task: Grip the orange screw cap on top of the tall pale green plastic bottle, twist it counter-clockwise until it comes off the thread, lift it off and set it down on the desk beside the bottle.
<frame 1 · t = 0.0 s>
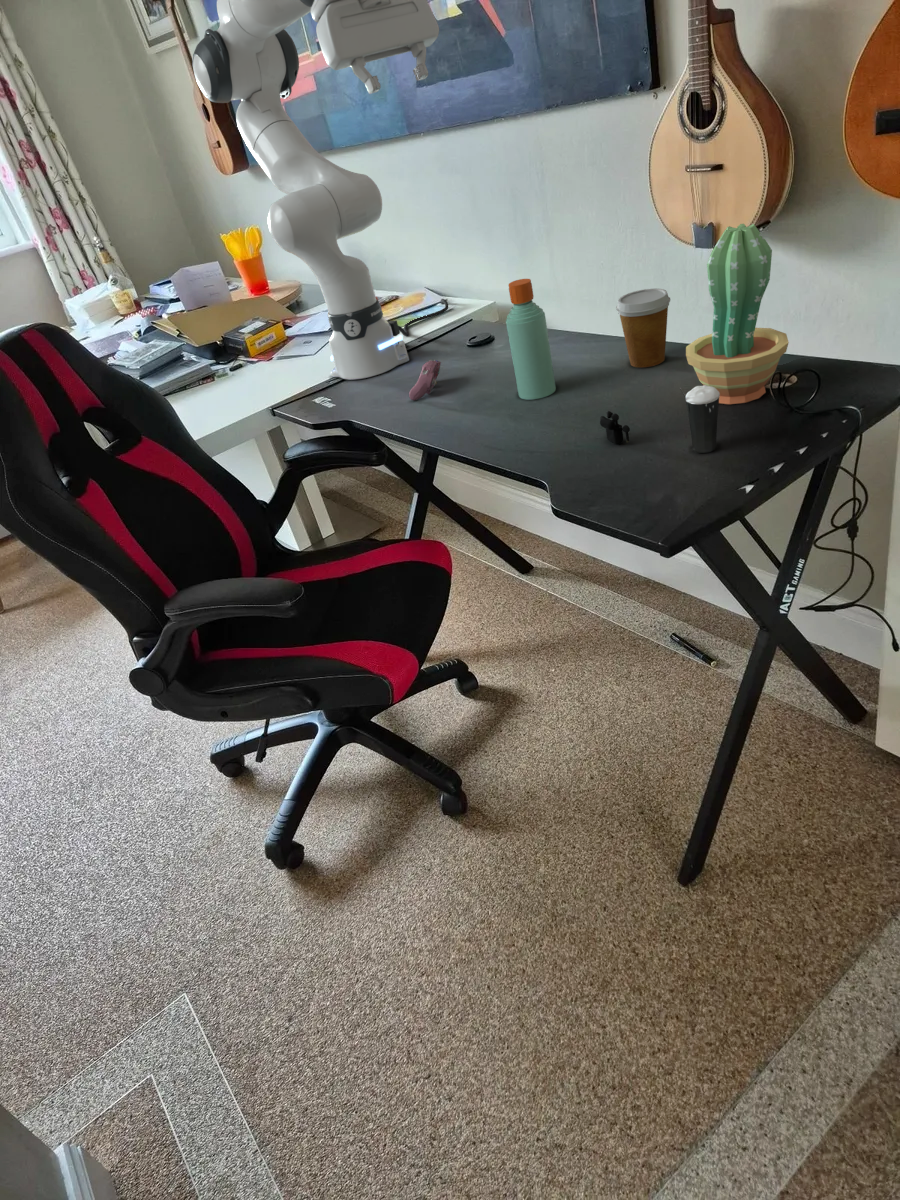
hand: (399, 84, 124), 52 cm above the table, tool tilted 20°, fingers open, 8 cm apart
cap: (519, 284, 135), point 20 cm above the table, screwed on, not yet turned
potted cactus: (736, 393, 126), on the table
glass of dark beer: (701, 450, 113), on the table
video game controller: (428, 392, 159), on the table
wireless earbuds: (613, 444, 121), on the table
bottle: (537, 392, 145), on the table
disposable coffee cup: (647, 362, 146), on the table
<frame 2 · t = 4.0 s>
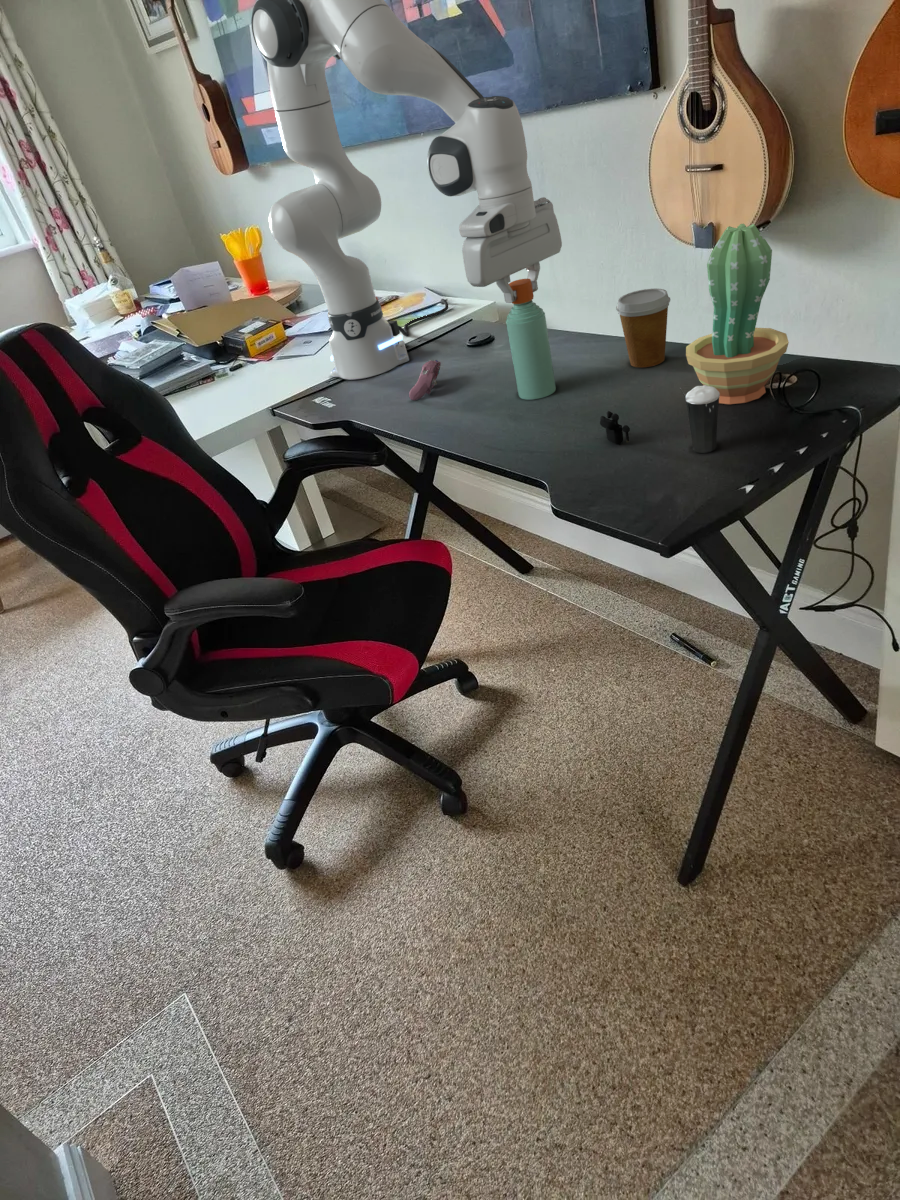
hand: (521, 296, 136), 18 cm above the table, tool pointing down, fingers closed on cap, 4 cm apart
cap: (520, 284, 135), point 20 cm above the table, screwed on, not yet turned, touching gripper
everything else where it was.
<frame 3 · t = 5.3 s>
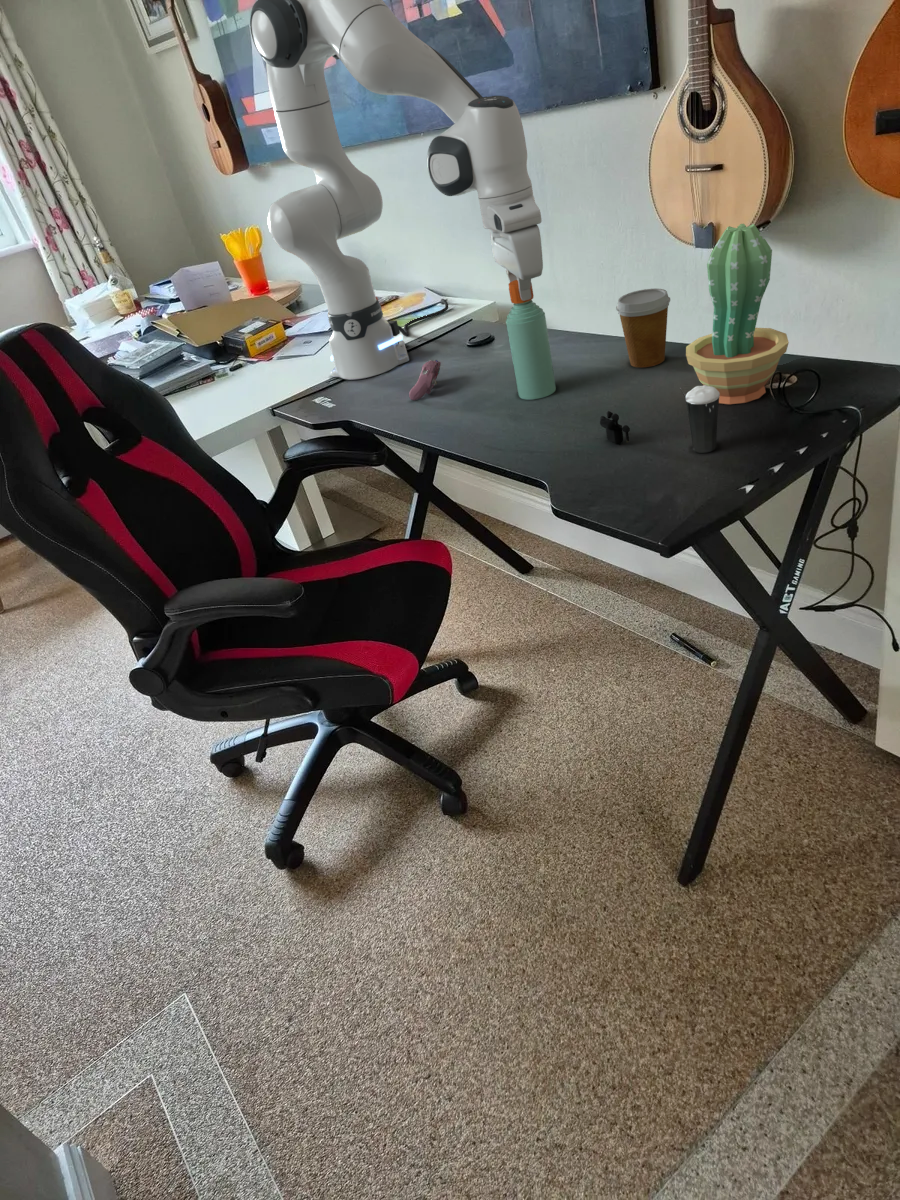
hand: (521, 296, 136), 18 cm above the table, tool pointing down, fingers closed on cap, 4 cm apart
cap: (519, 284, 135), point 20 cm above the table, turned 60° so far, risen 0.1 cm, still on its thread, touching gripper
everything else where it was.
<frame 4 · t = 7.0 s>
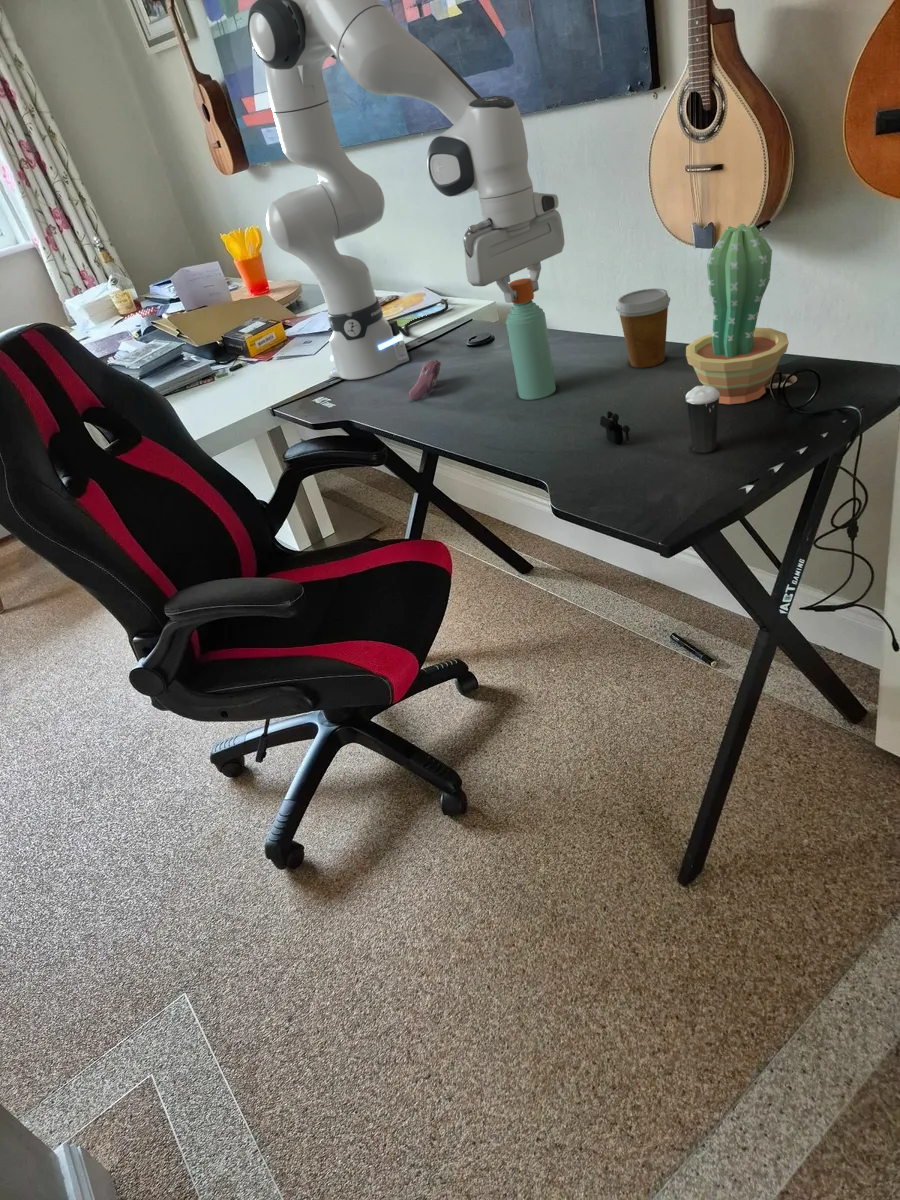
hand: (522, 296, 136), 18 cm above the table, tool pointing down, fingers closed on cap, 4 cm apart
cap: (520, 284, 135), point 20 cm above the table, off its thread, touching gripper
everything else where it was.
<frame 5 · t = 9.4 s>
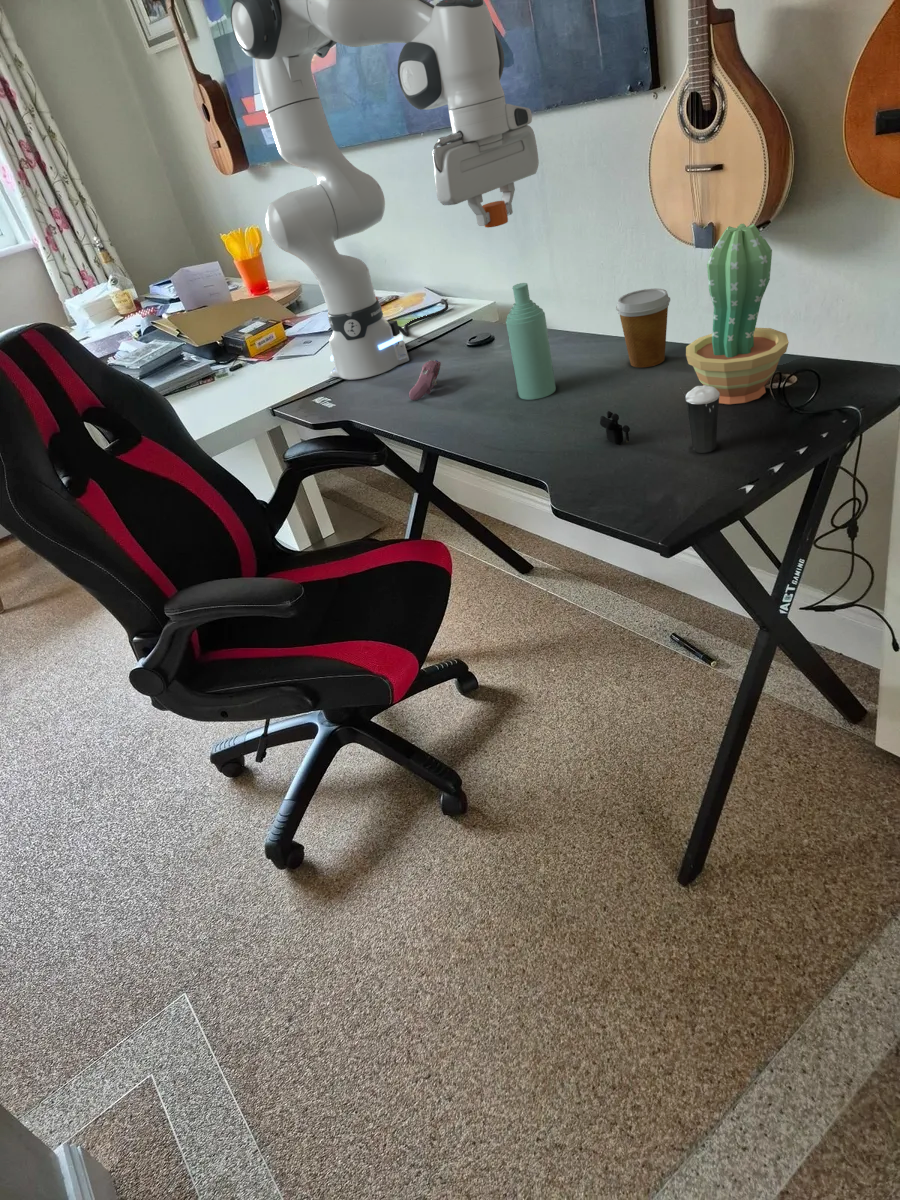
hand: (495, 220, 129), 31 cm above the table, tool pointing down, fingers closed on cap, 4 cm apart
cap: (493, 206, 127), point 33 cm above the table, off its thread, touching gripper
everything else where it was.
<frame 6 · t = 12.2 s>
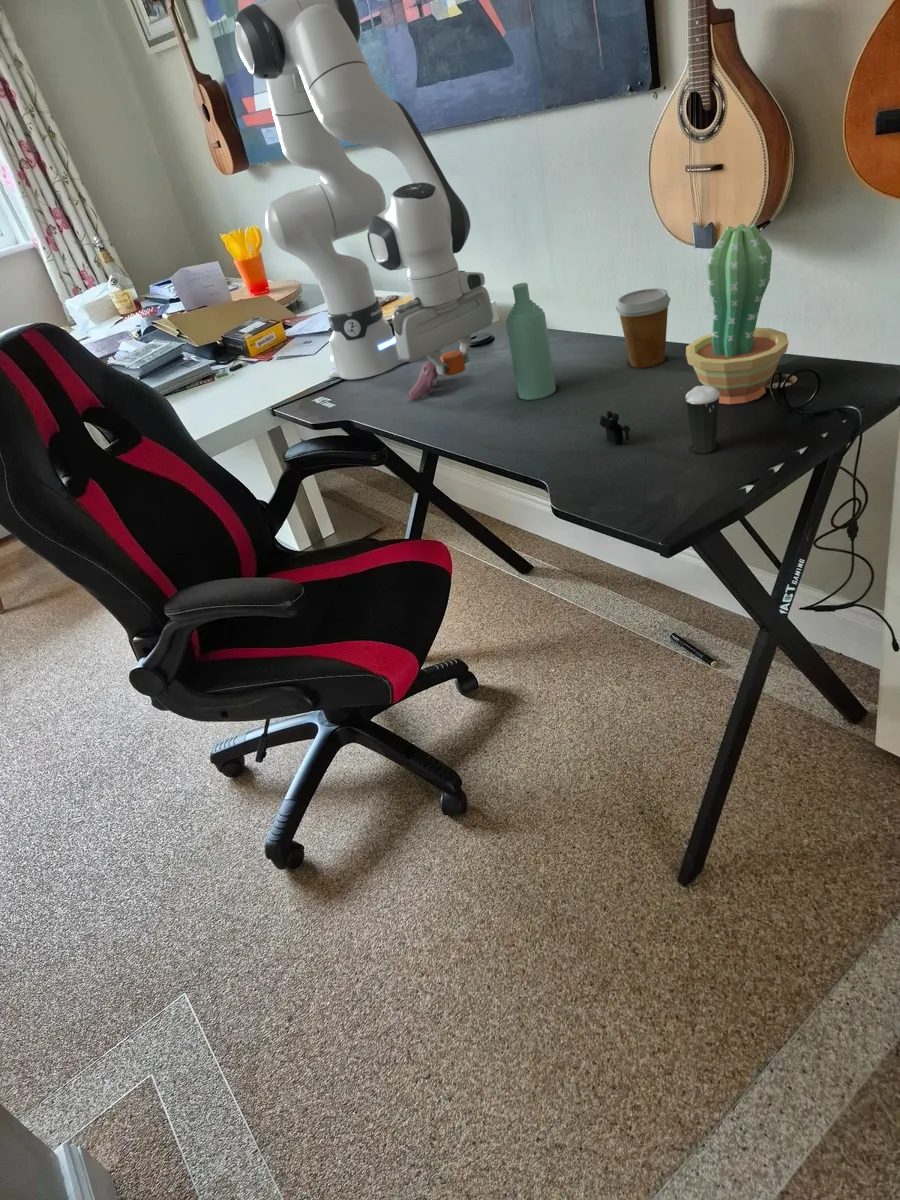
hand: (454, 367, 140), 9 cm above the table, tool pointing down, fingers closed on cap, 4 cm apart
cap: (451, 356, 139), point 11 cm above the table, off its thread, touching gripper
everything else where it was.
when the fingers open (0 cm above the table, at t = 14.7 s): cap stays where it is, point 3 cm above the table.
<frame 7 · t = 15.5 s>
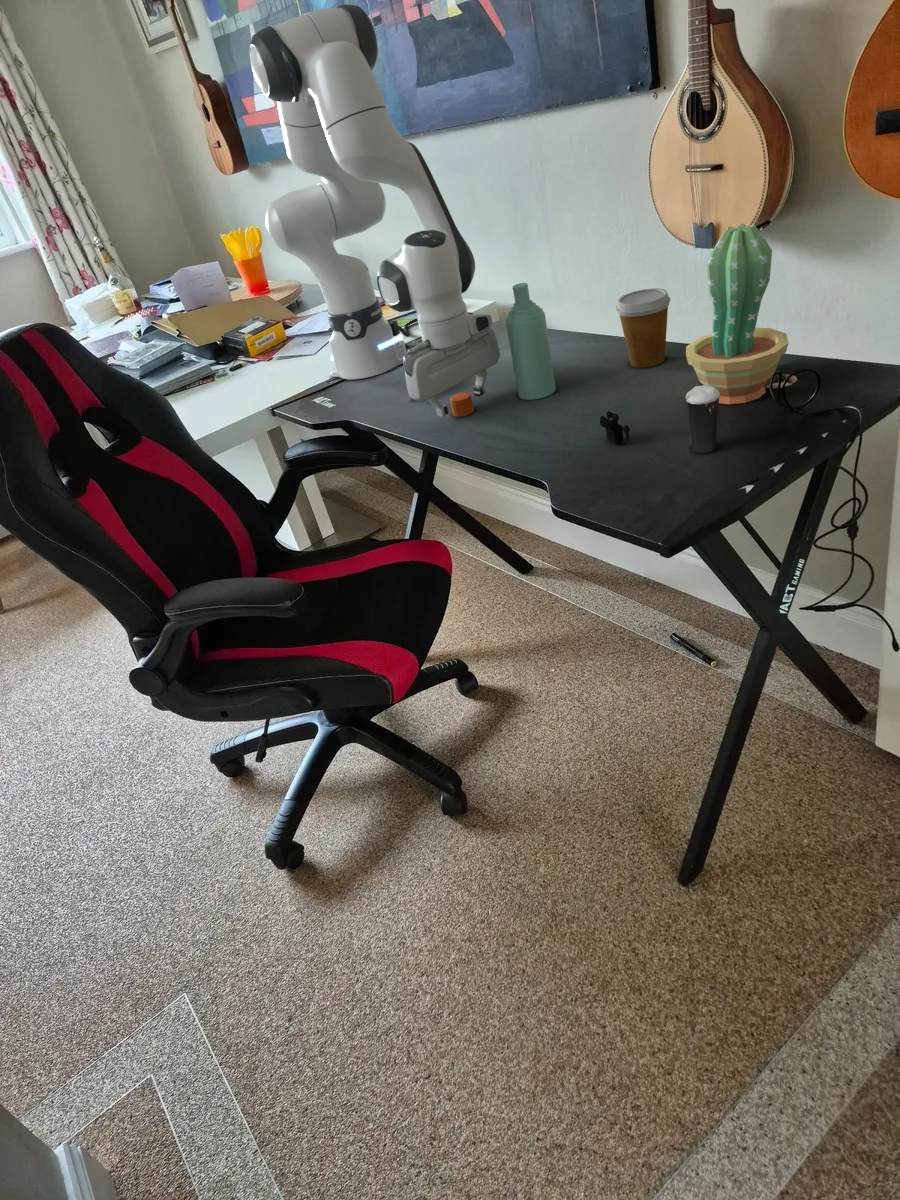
hand: (461, 404, 145), 1 cm above the table, tool pointing down, fingers open, 8 cm apart
cap: (460, 398, 144), point 3 cm above the table, off its thread
everything else where it was.
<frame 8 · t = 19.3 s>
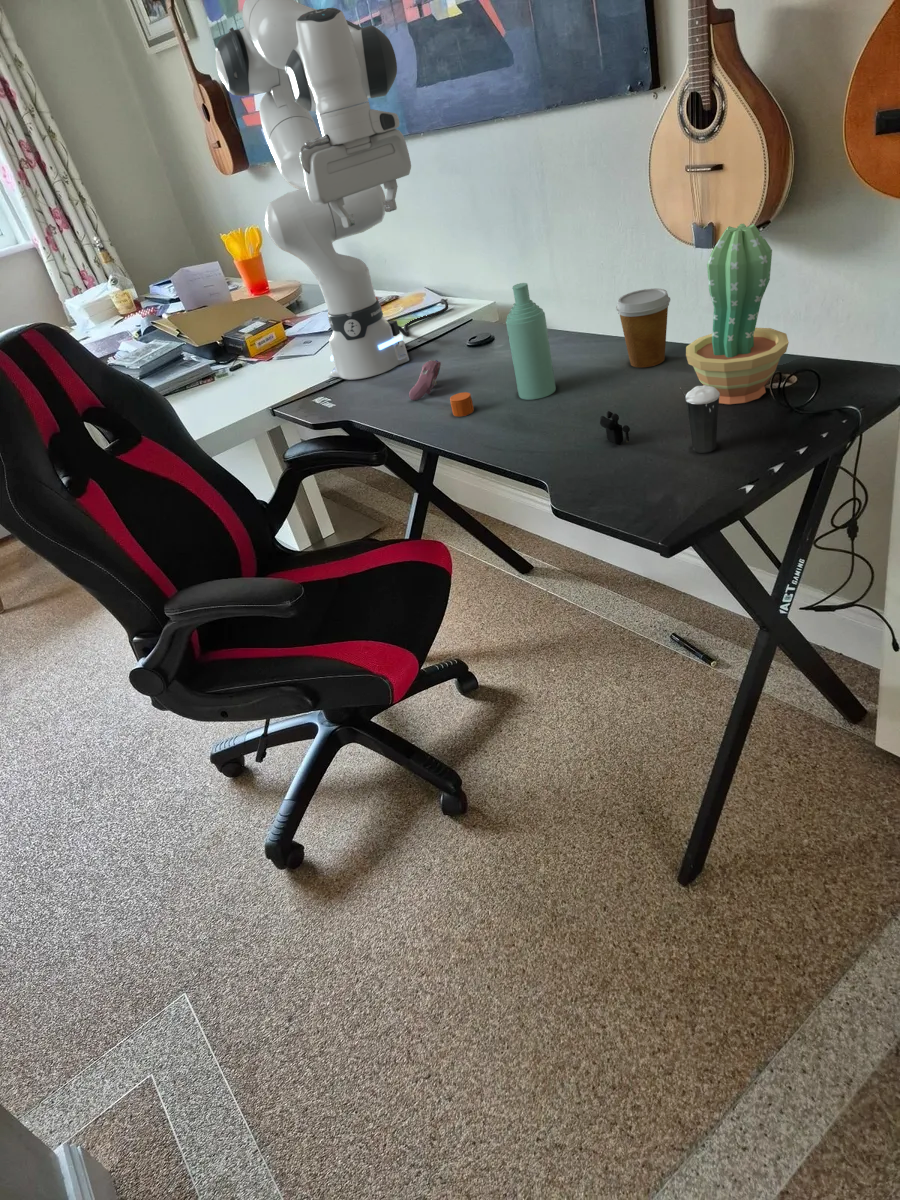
hand: (370, 218, 136), 34 cm above the table, tool pointing down, fingers open, 8 cm apart
nothing on the table moved.
at the end: cap inside the target area (0.2 cm from its centre), point 2.7 cm above the table; the gripper is holding nothing; bottle tilted 0° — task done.
